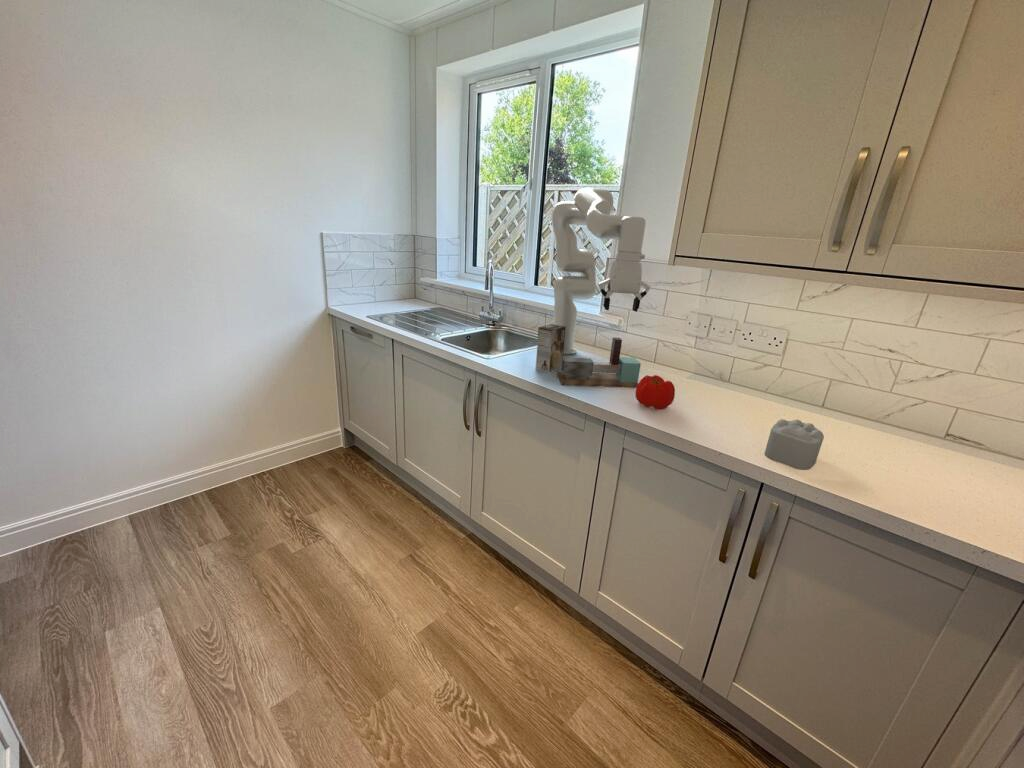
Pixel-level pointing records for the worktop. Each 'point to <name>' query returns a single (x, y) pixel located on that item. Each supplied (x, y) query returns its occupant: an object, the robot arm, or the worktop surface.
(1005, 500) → the worktop surface
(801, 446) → the lumpy-topped squat cylinder
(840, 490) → the worktop surface
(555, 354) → the coffee box
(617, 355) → the grey l-shaped piece
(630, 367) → the socket block
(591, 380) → the sleeve base
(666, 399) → the tomato
